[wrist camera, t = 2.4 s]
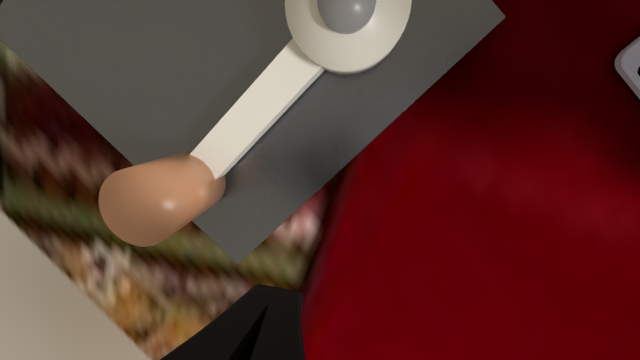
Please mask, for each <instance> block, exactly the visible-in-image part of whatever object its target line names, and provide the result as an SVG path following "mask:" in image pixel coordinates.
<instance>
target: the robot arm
mask: <svg viewBox="0 0 640 360" xmlns="http://www.w3.org/2000/svg"><path fill="white" fill-rule="evenodd" d="M639 66H640V36H639V37H638V38H637V39H636V40H634V41H633V42H632V43H631V44H629V45H628V46H627V47H626V48H624V49H623V50H622V51H621V52H620V53H619V54H618V55H617V57H616V59H615V68H616V70H617V72H618V73H619V74H620V76H621V77H622V78H623V79H624V80H625V82H626V83H627V84H628V85H629V87H630V88H631V89H632V90H633V92H634V93H635V94H636V95H637V97H638V98H639V99H640V76H639V75H638V72H637V71H638V68H639ZM302 304H303V294H302V293H301V292H300V291H296V290H290V289H284V288H278V287H272V286H266V285H261V284H257V285H255V286H254V287H253V288H251V289H250V290H249V291H248V292H247V293H246V294H244V295H243V296H242V297H241V298H240V299H239V300H237V301H236V302H235V303H234V304H233V305H232V306H230V307H229V308H228V309H227V310H226V311H224V312H223V313H222V314H221V315H219V316H218V317H217V318H216V319H214V320H213V321H212V322H211V323H209V324H208V325H207V326H206V327H204V328H203V329H202V330H200V331H199V332H198V333H197V334H195V335H194V336H192V337H191V338H190V339H188V340H187V341H186V342H184V343H183V344H181V345H180V346H179V347H177V348H176V349H174V350H173V351H172V352H170V353H169V354H167V355H166V356H165V357H163V358H162V359H160V360H306V359H305V352H304V344H303V337H302V326H301V312H302Z"/></svg>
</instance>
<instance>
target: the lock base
mask: <svg viewBox="0 0 640 360" xmlns="http://www.w3.org/2000/svg"><path fill="white" fill-rule="evenodd" d="M504 18H505V15H504V14H503V13H502V12H501V11H500V9H499V8H498V7H497V6H496V5H495V3H494V2H493V1H492V0H412V3H411V11H410V15H409V19H408V22H407V24H406V27H405V29H404V31H403V33H402V35H401V37H400V38H399V40H398V41H397V43H396V44H395V46H394V47H393V49H392V50H391V52H390V53H389V54H388V55H387V56H386V57H385V58H384V59H383V60H382V61H381V62H380V63H379V64H377V65H376V66H374V67H373V68H371V69H369V70H367V71H364V72H361V73H357V74H349V75H344V74H336V73H332V72H329V71H327V70H324V71H323V72H322V73H321V74H320V75H319V76H318V78H317V79H316V80H315V81H314V82H313V83H312V84H311V85H310V86H309V87H308V88H307V89H306V90H305V91H304V92H303V93H302V94H301V95H300V96H299V97H298V99H297V100H296V101H295V102H294V103H293V104H292V105H291V106H290V107H289V108H288V109H287V110H286V111H285V112H284V113H283V114H282V115H281V116H280V117H279V119H278V120H277V121H276V122H275V123H274V124H273V125H272V126H271V127H270V128H269V129H268V130H267V131H266V132H265V133H264V134H263V135H262V136H261V137H260V138H259V140H258V141H257V142H256V143H255V144H254V145H253V146H252V147H251V148H250V149H249V150H248V151H247V152H246V153H245V154H244V155H243V156H242V157H241V158H240V160H239V161H238V162H237V163H236V164H235V165H234V166H233V167H232V168H231V169H230V170H229V171H228V172H227V173H226V174H225V180H226V186H225V191H224V194H223V196H222V197H221V199H220V200H219V201H218V202H217V203H216V204H214V205H213V206H212V207H210V208H209V209H207V210H206V211H205V212H203V213H202V214H200V215H199V216H198V217H196V218H195V219H193V220H192V221H193V222H194V223H195V224H196V225H197V226H198V227H199V228H200V229H201V230H202V231H203V232H204V233H206V234H207V235H208V236H209V237H210V238H211V239H212V240H213V241H214V242H215V243H216V244H217V245H218V246H219V247H220V248H221V249H222V250H223V251H225V252H226V253H227V254H228V255H229V256H230V257H231V258H232V259H233V260H234V261H235V262H236V263H237V264H239V263H240V262H241V261H242V260H243V259H244V258H245V257H246V256H247V255H249V254H250V253H251V252H252V251H253V250H254V249H255V248H256V247H257V246H258V245H259V244H260V243H262V242H263V241H264V240H265V239H266V238H267V237H268V236H269V235H270V234H271V233H272V232H273V231H275V230H276V229H277V228H278V227H279V226H280V225H281V224H282V223H283V222H284V221H285V220H286V219H288V218H289V217H290V216H291V215H292V214H293V213H294V212H295V211H296V210H297V209H298V208H299V207H301V206H302V205H303V204H304V203H305V202H306V201H307V200H308V199H309V198H310V197H311V196H312V195H314V194H315V193H316V192H317V191H318V190H319V189H320V188H321V187H322V186H323V185H324V184H326V183H327V182H328V181H329V180H330V179H331V178H332V177H333V176H334V175H335V174H336V173H337V172H339V171H340V170H341V169H342V168H343V167H344V166H345V165H346V164H347V163H348V162H349V161H350V160H352V159H353V158H354V157H355V156H356V155H357V154H358V153H359V152H360V151H361V150H362V149H363V148H365V147H366V146H367V145H368V144H369V143H370V142H371V141H372V140H373V139H374V138H375V137H376V136H378V135H379V134H380V133H381V132H382V131H383V130H384V129H385V128H386V127H387V126H388V125H389V124H391V123H392V122H393V121H394V120H395V119H396V118H397V117H398V116H399V115H400V114H401V113H402V112H404V111H405V110H406V109H407V108H408V107H409V106H410V105H411V104H412V103H413V102H414V101H415V100H417V99H418V98H419V97H420V96H421V95H422V94H423V93H424V92H425V91H426V90H427V89H428V88H430V87H431V86H432V85H433V84H434V83H435V82H436V81H437V80H438V79H439V78H440V77H441V76H443V75H444V74H445V73H446V72H447V71H448V70H449V69H450V68H451V67H452V66H453V65H455V64H456V63H457V62H458V61H459V60H460V59H461V58H462V57H463V56H464V55H465V54H466V53H468V52H469V51H470V50H471V49H472V48H473V47H474V46H475V45H476V44H477V43H478V42H479V41H481V40H482V39H483V38H484V37H485V36H486V35H487V34H488V33H489V32H490V31H491V30H492V29H494V28H495V27H496V26H497V25H498V24H499V23H500V22H501V21H502V20H503V19H504ZM0 39H1V40H2V41H3V42H4V43H5V44H6V45H7V46H8V47H10V48H11V49H12V50H13V51H14V52H15V53H16V54H17V55H18V56H19V57H20V58H21V59H22V60H23V61H24V62H25V63H26V64H27V65H28V66H30V67H31V68H32V69H33V70H34V71H35V72H36V73H37V74H38V75H39V76H40V77H41V78H42V79H43V80H44V81H45V82H46V83H47V84H49V85H50V86H51V87H52V88H53V89H54V90H55V91H56V92H57V93H58V94H59V95H60V96H61V97H62V98H63V99H64V100H65V101H66V102H67V103H69V104H70V105H71V106H72V107H73V108H74V109H75V110H76V111H77V112H78V113H79V114H80V115H81V116H82V117H83V118H84V119H85V120H86V121H87V122H89V123H90V124H91V125H92V126H93V127H94V128H95V129H96V130H97V131H98V132H99V133H100V134H101V135H102V136H103V137H104V138H105V139H106V140H108V141H109V142H110V143H111V144H112V145H113V146H114V147H115V148H116V149H117V150H118V151H119V152H120V153H121V154H122V155H123V156H124V157H125V158H126V159H128V160H129V161H130V162H131V163H132V164H133V165H134V166H135V165H139V164H143V163H146V162H150V161H153V160H157V159H161V158H164V157H168V156H171V155H175V154H179V153H182V152H186V151H192V150H194V149H195V148H196V147H197V146H198V145H199V143H200V142H201V141H202V140H203V139H204V138H205V137H206V135H207V134H208V133H209V132H210V131H211V130H212V129H213V128H214V126H215V125H216V124H217V123H218V122H219V121H220V120H221V119H222V117H223V116H224V115H225V114H226V113H227V112H228V111H229V110H230V108H231V107H232V106H233V105H234V104H235V103H236V102H237V101H238V99H239V98H240V97H241V96H242V95H243V94H244V93H245V92H246V90H247V89H248V88H249V87H250V86H251V85H252V84H253V83H254V81H255V80H256V79H257V78H258V77H259V76H260V75H261V73H262V72H263V71H264V70H265V69H266V68H267V67H268V66H269V64H270V63H271V62H272V61H273V60H274V59H275V58H276V57H277V55H278V54H279V53H280V52H281V51H282V50H283V49H284V48H285V46H286V45H287V44H288V43H289V42H290V41H291V40H292V39H293V36H292V34H291V32H290V30H289V26H288V23H287V19H286V14H285V0H3V2H2V4H1V5H0Z"/></svg>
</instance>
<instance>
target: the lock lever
mask: <svg viewBox="0 0 640 360" xmlns="http://www.w3.org/2000/svg"><path fill="white" fill-rule="evenodd" d="M411 3H412V0H285V14H286V19H287V23H288V26H289V30H290V32H291V34H292V36H293V39H292V40H291V41H290V42H289V43H288V44H287V45H286V46H285V48H284V49H283V50H282V51H281V52H280V53H279V54H278V55H277V57H276V58H275V59H274V60H273V61H272V62H271V63H270V64H269V66H268V67H267V68H266V69H265V70H264V71H263V72H262V73H261V75H260V76H259V77H258V78H257V79H256V80H255V81H254V83H253V84H252V85H251V86H250V87H249V88H248V89H247V90H246V92H245V93H244V94H243V95H242V96H241V97H240V98H239V99H238V101H237V102H236V103H235V104H234V105H233V106H232V107H231V108H230V110H229V111H228V112H227V113H226V114H225V115H224V116H223V117H222V119H221V120H220V121H219V122H218V123H217V124H216V125H215V126H214V128H213V129H212V130H211V131H210V132H209V133H208V134H207V135H206V137H205V138H204V139H203V140H202V141H201V142H200V143H199V145H198V146H197V147H196V148H195V149H194V150H192V151H186V152H182V153H179V154H175V155H171V156H168V157H164V158H161V159H157V160H153V161H150V162H146V163H143V164H139V165H135V166H132V167H128V168H125V169H121V170H118V171H116V172H114V173H112V174H111V175H109V176H108V177H107V178H106V179H105V181H104V182H103V184H102V186H101V189H100V192H99V208H100V212H101V215H102V218H103V220H104V222H105V223H106V225H107V226H108V227H109V229H110V230H111V231H112V232H113V233H114V234H115V235H116V236H117V237H119V238H120V239H122V240H123V241H125V242H127V243H130V244H132V245H136V246H153V245H156V244H159V243H161V242H162V241H164V240H165V239H167V238H168V237H169V236H171V235H172V234H174V233H175V232H176V231H178V230H179V229H181V228H182V227H183V226H185V225H186V224H188V223H189V222H190V221H192V220H193V219H195V218H196V217H198V216H199V215H200V214H202V213H203V212H205V211H206V210H207V209H209V208H210V207H212V206H213V205H214V204H216V203H217V202H218V201H219V200H220V199H221V197H222V196H223V194H224V191H225V186H226V180H225V174H226V173H227V172H228V171H229V170H230V169H231V168H232V167H233V166H234V165H235V164H236V163H237V162H238V161H239V160H240V158H241V157H242V156H243V155H244V154H245V153H246V152H247V151H248V150H249V149H250V148H251V147H252V146H253V145H254V144H255V143H256V142H257V141H258V140H259V138H260V137H261V136H262V135H263V134H264V133H265V132H266V131H267V130H268V129H269V128H270V127H271V126H272V125H273V124H274V123H275V122H276V121H277V120H278V119H279V117H280V116H281V115H282V114H283V113H284V112H285V111H286V110H287V109H288V108H289V107H290V106H291V105H292V104H293V103H294V102H295V101H296V100H297V99H298V97H299V96H300V95H301V94H302V93H303V92H304V91H305V90H306V89H307V88H308V87H309V86H310V85H311V84H312V83H313V82H314V81H315V80H316V79H317V78H318V76H319V75H320V74H321V73H322V72H323V71H324V70H327V71H329V72H332V73H336V74H344V75H349V74H357V73H361V72H364V71H367V70H369V69H371V68H373V67H374V66H376V65H377V64H379V63H380V62H381V61H382V60H383V59H384V58H385V57H386V56H387V55H388V54H389V53H390V52H391V50H392V49H393V47H394V46H395V44H396V43H397V41H398V40H399V38H400V37H401V35H402V33H403V31H404V29H405V27H406V24H407V22H408V19H409V15H410V11H411Z"/></svg>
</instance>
